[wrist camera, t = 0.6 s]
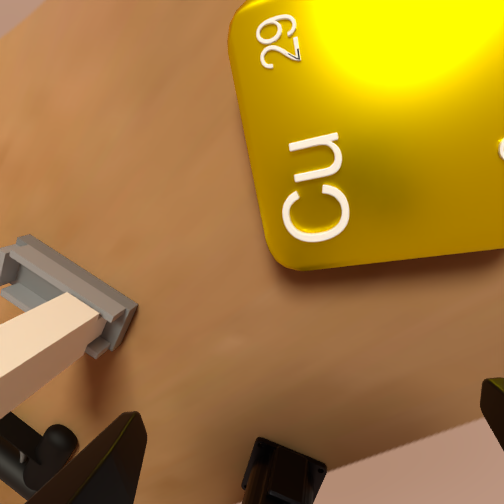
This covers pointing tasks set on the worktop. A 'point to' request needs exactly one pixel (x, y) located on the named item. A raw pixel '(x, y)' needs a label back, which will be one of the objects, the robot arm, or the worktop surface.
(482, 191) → the element tile
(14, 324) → the tall lidded box
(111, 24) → the worktop surface
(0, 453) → the door handle
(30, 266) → the switch base
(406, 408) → the worktop surface
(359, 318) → the worktop surface
